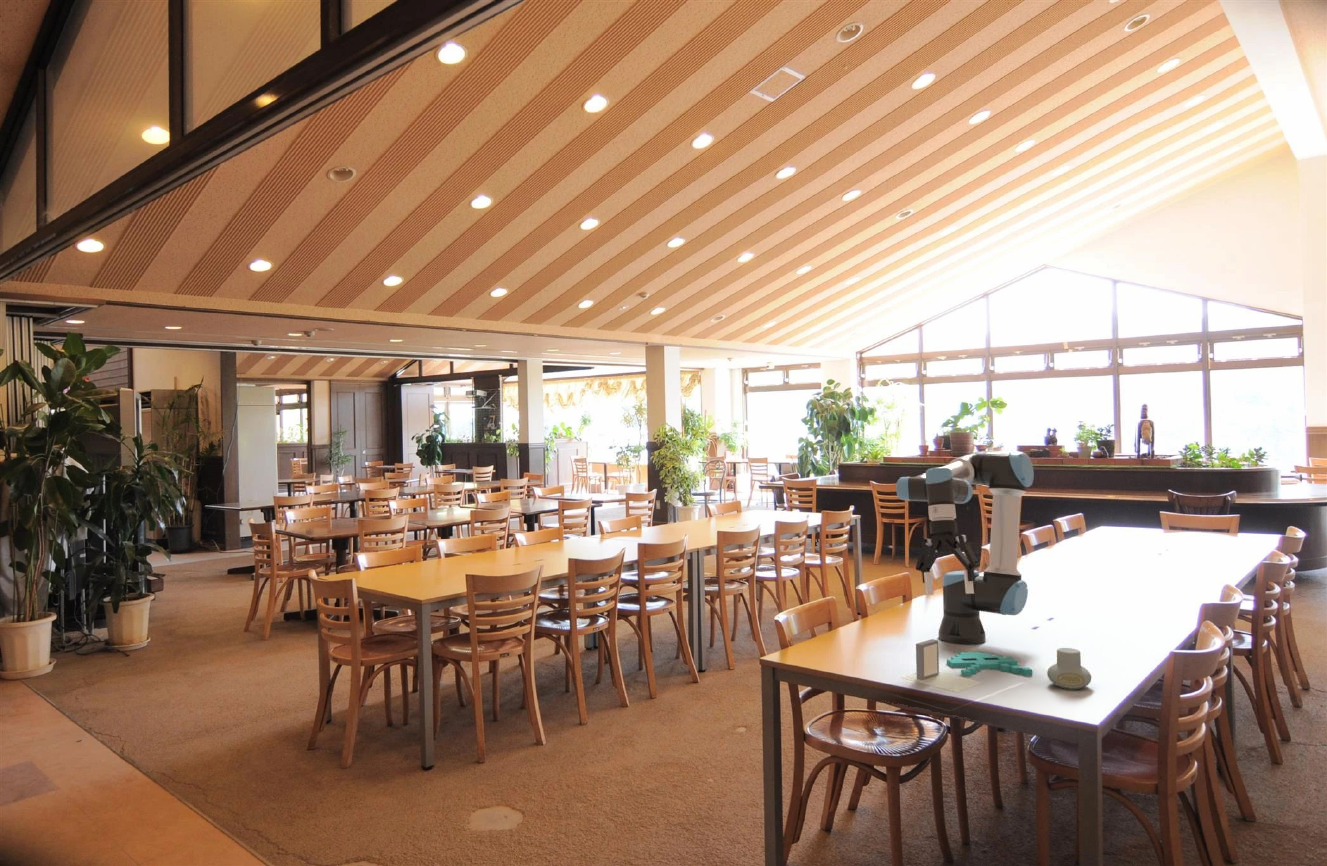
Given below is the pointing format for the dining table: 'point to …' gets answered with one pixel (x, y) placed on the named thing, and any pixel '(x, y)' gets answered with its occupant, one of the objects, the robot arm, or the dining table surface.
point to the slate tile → (927, 659)
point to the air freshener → (1069, 670)
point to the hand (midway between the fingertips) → (949, 594)
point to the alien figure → (986, 663)
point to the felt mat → (945, 681)
